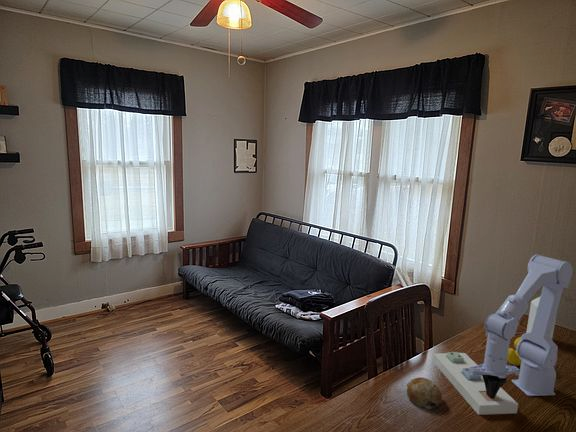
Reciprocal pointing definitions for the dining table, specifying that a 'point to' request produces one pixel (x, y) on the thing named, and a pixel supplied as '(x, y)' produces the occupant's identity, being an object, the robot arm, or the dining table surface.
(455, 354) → the button two
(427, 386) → the bread roll
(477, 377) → the button three
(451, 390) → the dining table surface
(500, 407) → the button panel
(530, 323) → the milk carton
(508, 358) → the duckling
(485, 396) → the button one
